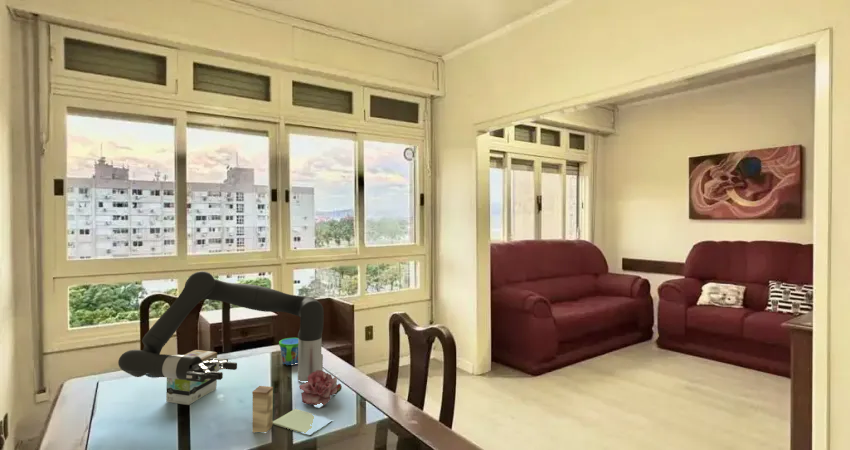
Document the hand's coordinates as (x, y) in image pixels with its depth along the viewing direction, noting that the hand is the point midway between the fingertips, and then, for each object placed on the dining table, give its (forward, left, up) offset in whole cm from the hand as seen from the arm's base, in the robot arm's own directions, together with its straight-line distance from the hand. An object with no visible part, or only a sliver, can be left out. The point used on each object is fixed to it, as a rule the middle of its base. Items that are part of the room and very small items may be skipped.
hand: (229, 371), depth 147 cm
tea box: (-9, -30, -18) cm, 37 cm away
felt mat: (-13, +19, -18) cm, 29 cm away
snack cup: (-52, -22, -18) cm, 60 cm away
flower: (-29, +13, -18) cm, 37 cm away
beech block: (-4, +11, -18) cm, 21 cm away
